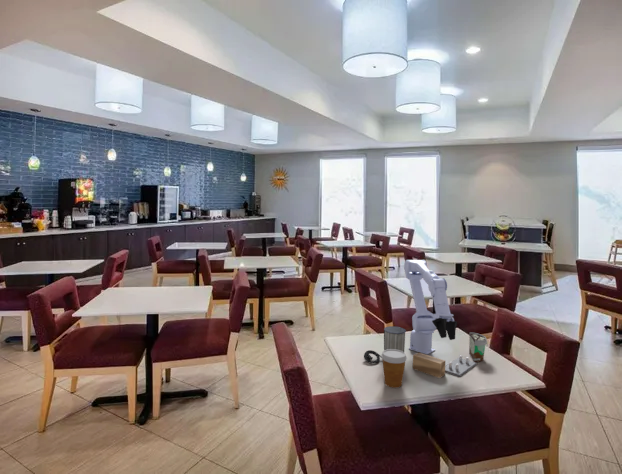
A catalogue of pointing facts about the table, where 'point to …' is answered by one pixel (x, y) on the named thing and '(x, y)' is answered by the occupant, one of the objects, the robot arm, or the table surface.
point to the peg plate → (459, 366)
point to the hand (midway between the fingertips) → (448, 338)
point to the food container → (477, 346)
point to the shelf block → (429, 365)
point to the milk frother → (389, 342)
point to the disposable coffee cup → (393, 367)
